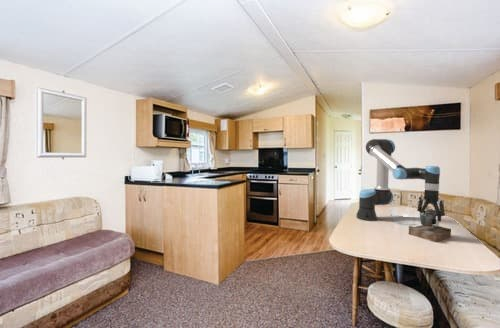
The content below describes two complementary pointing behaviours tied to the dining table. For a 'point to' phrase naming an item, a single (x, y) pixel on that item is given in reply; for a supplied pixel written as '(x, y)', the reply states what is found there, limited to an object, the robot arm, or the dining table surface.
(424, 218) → the camera
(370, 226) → the dining table surface
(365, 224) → the dining table surface
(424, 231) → the display plinth
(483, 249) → the dining table surface
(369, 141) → the robot arm
